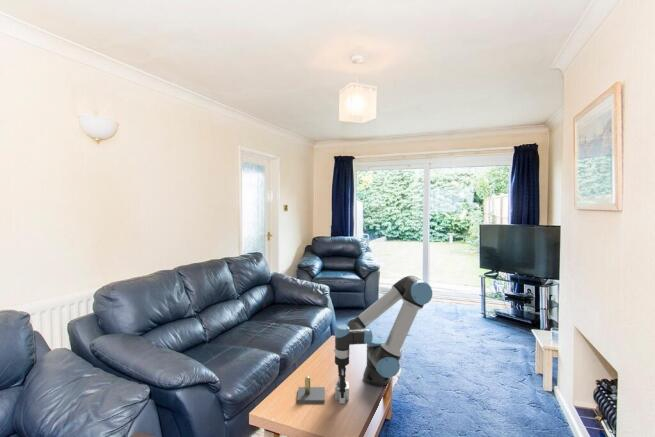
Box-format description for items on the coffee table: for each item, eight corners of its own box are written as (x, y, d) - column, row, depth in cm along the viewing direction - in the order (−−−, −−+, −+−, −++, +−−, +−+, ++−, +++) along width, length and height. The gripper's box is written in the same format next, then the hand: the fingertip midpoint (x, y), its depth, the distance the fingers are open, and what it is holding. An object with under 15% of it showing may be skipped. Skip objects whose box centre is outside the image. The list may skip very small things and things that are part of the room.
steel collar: (347, 392, 182) (348, 381, 182) (348, 400, 175) (349, 388, 175) (334, 392, 182) (335, 381, 182) (335, 400, 175) (335, 388, 175)
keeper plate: (324, 389, 185) (324, 387, 185) (324, 402, 173) (324, 400, 173) (298, 389, 185) (298, 387, 184) (297, 402, 173) (297, 400, 172)
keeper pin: (310, 391, 180) (310, 375, 179) (310, 394, 177) (310, 378, 177) (305, 391, 180) (305, 375, 179) (304, 394, 177) (304, 378, 177)
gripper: (334, 345, 190) (333, 383, 191) (335, 367, 165) (335, 410, 167) (347, 345, 190) (346, 383, 191) (351, 367, 165) (350, 410, 167)
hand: (341, 395), depth 179 cm, fingers open, 12 cm apart
